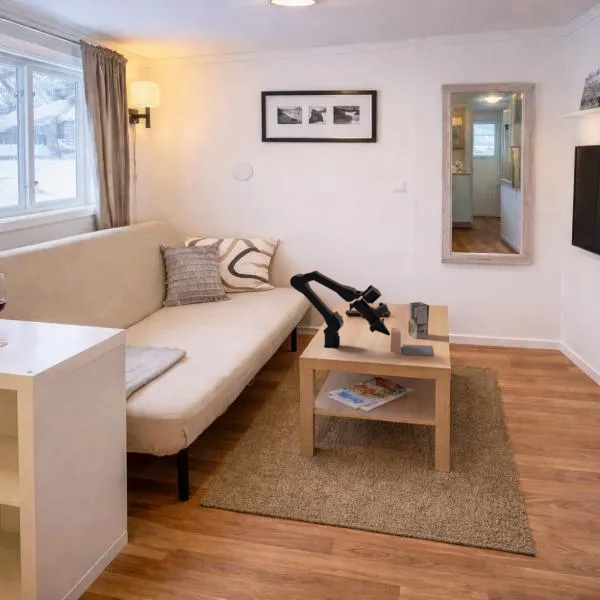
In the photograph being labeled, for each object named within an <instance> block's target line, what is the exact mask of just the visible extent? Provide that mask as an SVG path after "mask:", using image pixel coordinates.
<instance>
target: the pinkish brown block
mask: <svg viewBox="0 0 600 600" xmlns="http://www.w3.org/2000/svg"><path fill="white" fill-rule="evenodd" d="M390 332H391V333H390V353H391V352H395V353H394V354H400V353H402V352H401V350H402V328H401V327H391V331H390Z"/></svg>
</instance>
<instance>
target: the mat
mask: <svg viewBox="0 0 600 600" xmlns="http://www.w3.org/2000/svg"><path fill="white" fill-rule="evenodd" d="M402 355H403V356H414V355H418V357H419V355H422V356H421V357H434V352H433V347H432V345H428V344H427V345H425V344H424V345H423V344H422V345H421V344H402Z"/></svg>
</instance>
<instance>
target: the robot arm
mask: <svg viewBox="0 0 600 600" xmlns="http://www.w3.org/2000/svg"><path fill="white" fill-rule="evenodd" d="M312 281H314V282H316V283H318V284H320V285H322V286H324V287H326V288H327V289H329V290H331V291H333V292H334V293H336V294H337V295H338V296H339V297H340V298H341V299H342V300H344V301H345V302H347V303H349V304H348V305H349V309H348V310H349V311H352V310H355V311H356V312H357V313H359V314H360V316H361V317H362V319H363V320H364V319H365V320H366V322H367V323H368V325H369V331H370V332H371V333H373V334H374V332H377V333H381V334H383V335H386V336H391V333H390V332H391V331H389V330H388V328H387V326H386V324H385V318H384V314H387V313H389V311H390V310H389V307H388V305H387V303H383V302H382V301H381V302H379V303H378V306H377V307H374V306H370V304H371V305H373V304H374V303H375V302H377V300H378V299H379V298H380V297H382V293H381V291H380V290H379V289H378V288H376V287H375V286H373V285H372V284H370V285H369V286H367V288H366V289H365V290H364V291H363V290H358V289H356V288H355V287H353V286H350V285H346V284H342V283H340V282H338V281H336V280H334V279H332V278H330V277H329V276H326V275H324V274H323V273H321V272H319V271H318V270H313V271H310V272H306V273H304V274H303V273H297V274H295V275H293V276H292V277H291V278H290V280H289V284H290V286H291V288H293V289H294V290H296V291H297V292H299V293H300V294H302V295H303V296H304V297H305V298H306V299H307V300H308V301H309V302H310V304H311V305H312V306H313V307H314V308H315V310H317V312H318V313H319V314H320V315H321V316H322V317H323V320H324V322H325V324H326V327H325V328H324V329H323V330H322V331H323V334H324V345H323V348H334V349H335V348H336V349H337V348H339V346H340V345H341V335H340V334H339V331H340V330H341V329H342V327H344V325H345V324H344V323H345V322H344V318H343V316H342V315H340V313H339V312H338V311H337V310H336V311H335V312H334V311H332V310H331V309H330V308H329V307H328V306H327V304H325V302H324V301H323V300H322V299H321V297H320V296H318V294H317V293H316V292H315V291H314V289H312V288H311V285H310V283H309V282H312ZM381 317H383V318H382V319H381Z"/></svg>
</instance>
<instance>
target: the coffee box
mask: <svg viewBox="0 0 600 600" xmlns="http://www.w3.org/2000/svg"><path fill="white" fill-rule="evenodd" d="M429 313H430V305H429V304H426V303H424V302H421V301H416V302H409V303H408V333H407V334H409V336H410V335H411V336H410V337H412V336H413V337H412V338H414V337H415V338H414V339H417V340H418V338H419V339H427V338H428V337H429V318H430V317H429V315H430V314H429Z"/></svg>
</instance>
